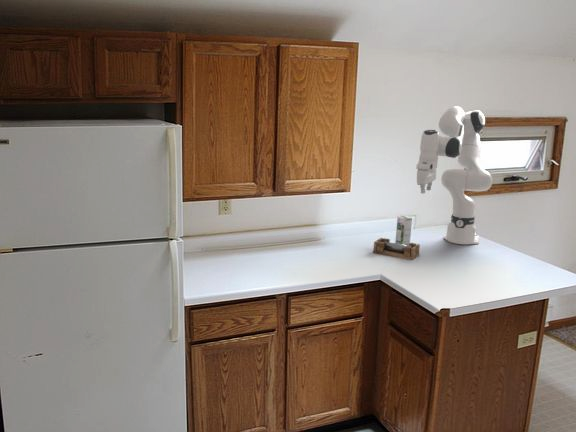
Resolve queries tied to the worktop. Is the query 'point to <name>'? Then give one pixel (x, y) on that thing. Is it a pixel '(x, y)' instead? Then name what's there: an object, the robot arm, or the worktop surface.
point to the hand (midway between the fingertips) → (425, 191)
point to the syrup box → (403, 230)
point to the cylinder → (394, 247)
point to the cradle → (408, 251)
